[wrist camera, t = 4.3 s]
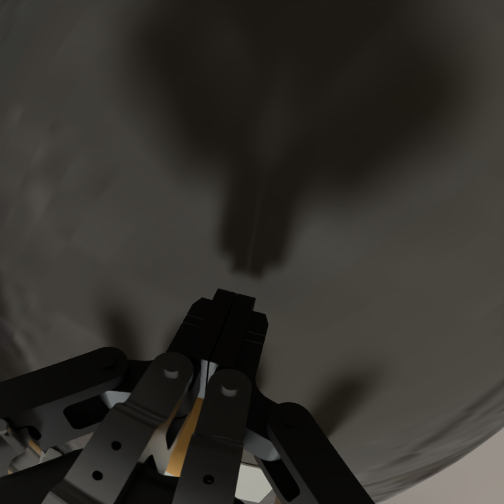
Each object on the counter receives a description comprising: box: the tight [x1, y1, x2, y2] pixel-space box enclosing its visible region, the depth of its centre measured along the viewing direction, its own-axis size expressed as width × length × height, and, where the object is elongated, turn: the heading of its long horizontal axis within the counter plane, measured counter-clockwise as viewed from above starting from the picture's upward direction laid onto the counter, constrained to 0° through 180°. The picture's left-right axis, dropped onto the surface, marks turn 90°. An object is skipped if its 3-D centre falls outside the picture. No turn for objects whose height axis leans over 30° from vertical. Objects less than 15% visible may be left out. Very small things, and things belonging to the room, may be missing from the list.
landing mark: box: [164, 463, 272, 503], centre depth 28 cm, size 14×14×1 cm
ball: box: [166, 397, 203, 477], centre depth 16 cm, size 6×6×6 cm
